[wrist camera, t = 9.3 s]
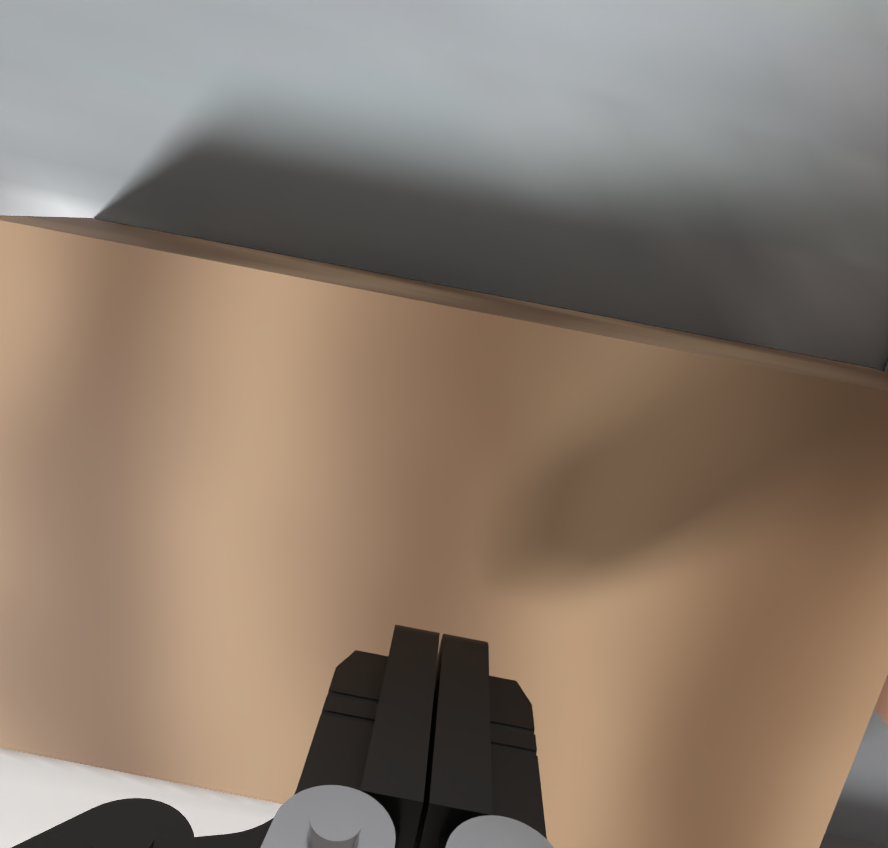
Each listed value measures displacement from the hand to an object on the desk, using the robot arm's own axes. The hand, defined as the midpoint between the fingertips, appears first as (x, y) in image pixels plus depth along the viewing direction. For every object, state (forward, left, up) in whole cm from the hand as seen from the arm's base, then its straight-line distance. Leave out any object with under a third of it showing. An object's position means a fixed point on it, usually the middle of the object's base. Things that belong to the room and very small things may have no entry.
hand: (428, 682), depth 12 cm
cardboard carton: (0, 0, -7) cm, 7 cm away
